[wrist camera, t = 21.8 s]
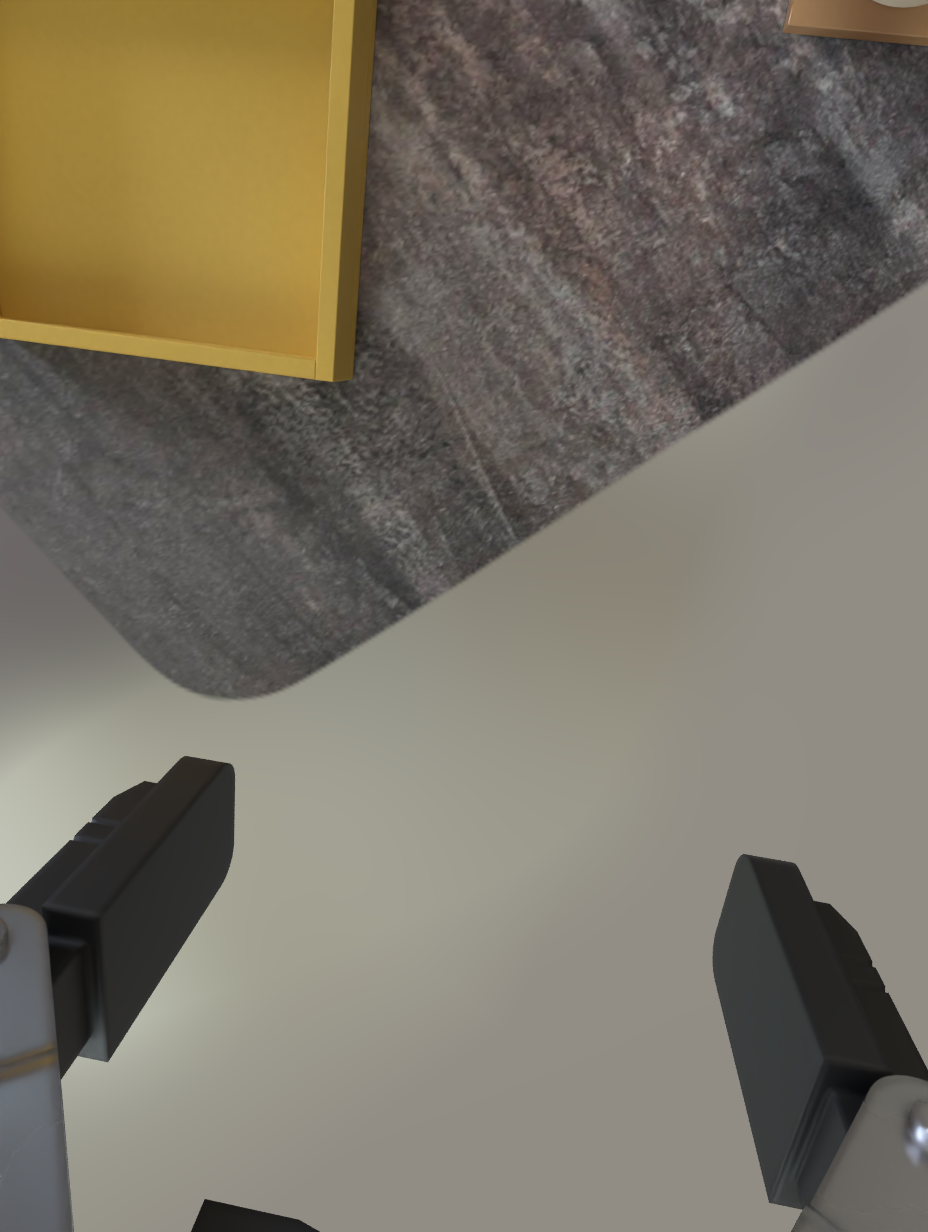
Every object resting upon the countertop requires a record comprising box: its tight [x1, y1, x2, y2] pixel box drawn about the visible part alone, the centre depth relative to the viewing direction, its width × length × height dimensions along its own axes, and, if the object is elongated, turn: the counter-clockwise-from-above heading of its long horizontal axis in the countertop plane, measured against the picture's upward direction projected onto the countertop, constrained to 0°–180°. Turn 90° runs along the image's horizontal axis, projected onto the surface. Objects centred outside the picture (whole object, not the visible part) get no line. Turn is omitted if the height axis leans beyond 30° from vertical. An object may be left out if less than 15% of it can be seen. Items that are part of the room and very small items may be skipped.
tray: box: [0, 0, 377, 382], centre depth 32 cm, size 18×16×3 cm
